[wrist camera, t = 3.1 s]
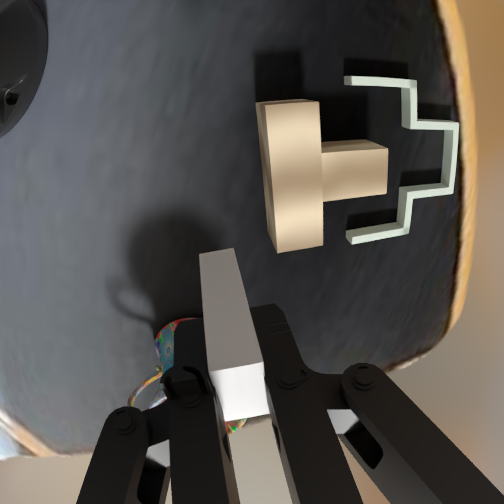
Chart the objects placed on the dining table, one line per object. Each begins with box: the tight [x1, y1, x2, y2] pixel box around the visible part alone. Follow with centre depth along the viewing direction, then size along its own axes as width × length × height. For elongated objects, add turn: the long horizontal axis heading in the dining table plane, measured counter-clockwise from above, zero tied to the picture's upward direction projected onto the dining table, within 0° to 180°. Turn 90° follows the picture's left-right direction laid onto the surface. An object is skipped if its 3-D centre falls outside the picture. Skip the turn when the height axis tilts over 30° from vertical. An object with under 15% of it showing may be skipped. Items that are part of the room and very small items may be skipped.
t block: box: [256, 99, 388, 253], centre depth 26 cm, size 12×10×4 cm
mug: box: [127, 318, 247, 435], centre depth 31 cm, size 12×9×11 cm
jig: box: [344, 76, 459, 244], centre depth 28 cm, size 16×13×2 cm
